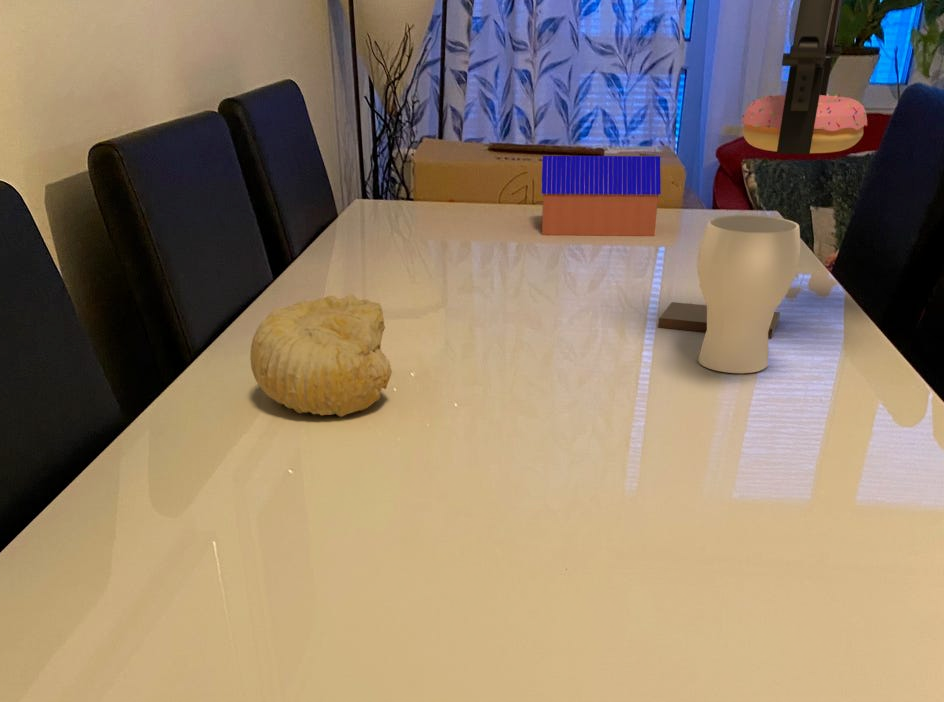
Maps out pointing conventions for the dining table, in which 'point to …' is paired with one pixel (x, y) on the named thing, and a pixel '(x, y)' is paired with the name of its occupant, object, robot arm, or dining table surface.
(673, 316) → the walnut coaster board
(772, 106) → the doughnut
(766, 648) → the dining table surface
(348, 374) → the seashell
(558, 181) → the house
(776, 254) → the cup
